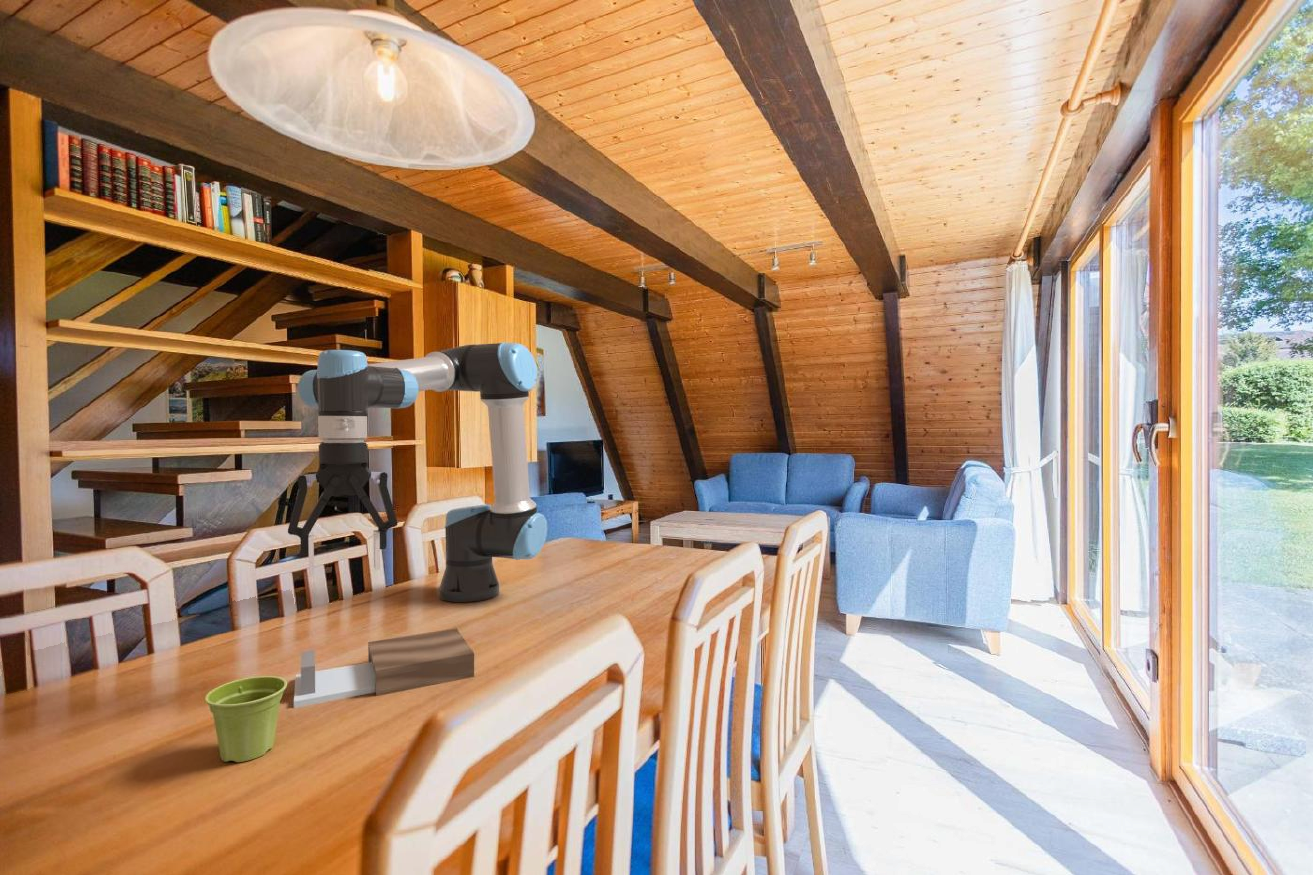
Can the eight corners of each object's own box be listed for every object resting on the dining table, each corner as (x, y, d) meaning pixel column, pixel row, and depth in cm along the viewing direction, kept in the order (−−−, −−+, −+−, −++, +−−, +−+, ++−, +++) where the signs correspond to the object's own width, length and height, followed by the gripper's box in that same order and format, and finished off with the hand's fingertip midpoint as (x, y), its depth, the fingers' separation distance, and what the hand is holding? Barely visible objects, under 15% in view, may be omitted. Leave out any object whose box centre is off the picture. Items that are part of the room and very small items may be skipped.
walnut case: (368, 664, 116) (368, 642, 116) (456, 649, 124) (456, 628, 124) (376, 695, 103) (375, 670, 103) (474, 676, 111) (474, 653, 111)
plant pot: (277, 727, 92) (277, 669, 92) (296, 752, 86) (295, 689, 85) (200, 751, 86) (199, 689, 86) (213, 779, 79) (212, 712, 79)
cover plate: (295, 683, 109) (295, 649, 109) (438, 658, 121) (438, 627, 121) (293, 710, 99) (293, 673, 99) (450, 680, 110) (450, 646, 110)
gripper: (266, 443, 98) (268, 584, 99) (415, 440, 109) (416, 568, 109) (268, 441, 105) (270, 574, 105) (409, 439, 115) (410, 560, 116)
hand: (344, 571), depth 107 cm, fingers open, 9 cm apart
